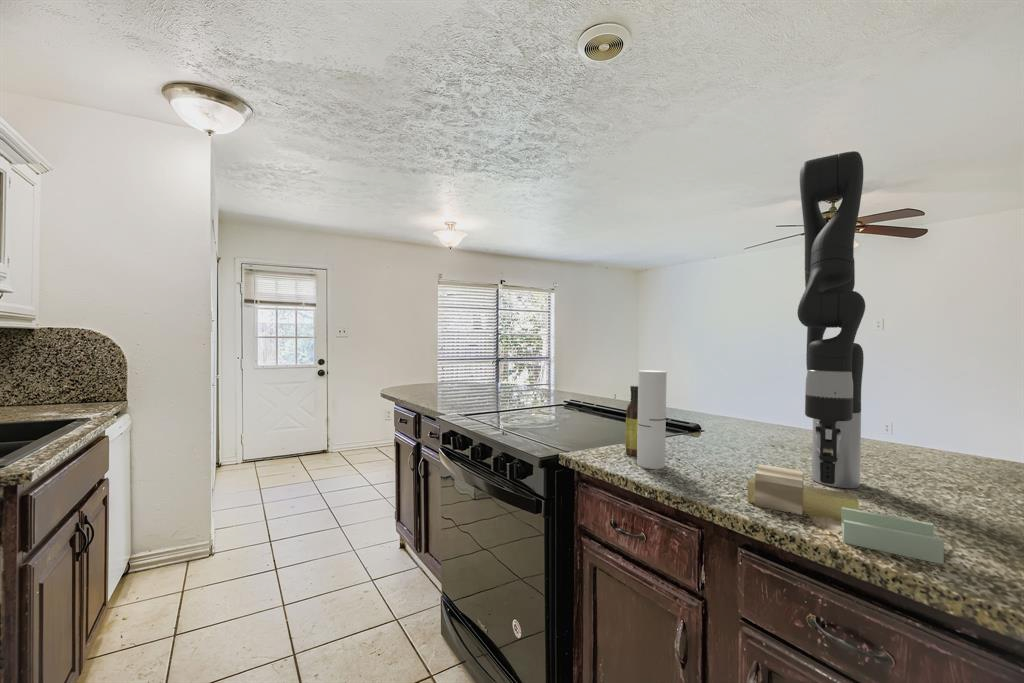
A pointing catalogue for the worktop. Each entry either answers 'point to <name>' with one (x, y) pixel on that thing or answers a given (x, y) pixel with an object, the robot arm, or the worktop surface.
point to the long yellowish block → (818, 501)
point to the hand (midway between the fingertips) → (826, 477)
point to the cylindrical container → (651, 419)
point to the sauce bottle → (632, 423)
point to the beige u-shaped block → (779, 488)
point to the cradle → (892, 535)
